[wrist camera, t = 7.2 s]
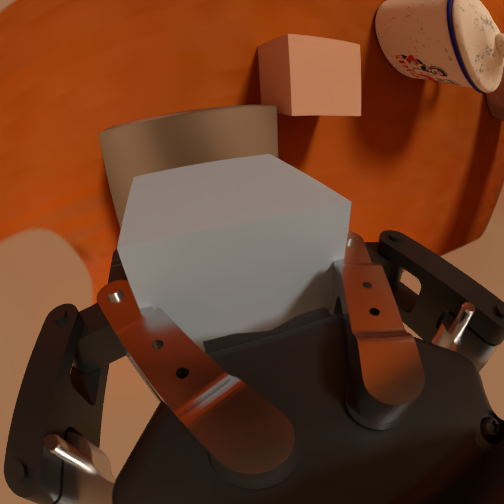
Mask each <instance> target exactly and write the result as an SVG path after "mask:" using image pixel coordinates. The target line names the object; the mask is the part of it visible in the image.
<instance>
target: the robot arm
mask: <svg viewBox="0 0 504 504" xmlns="http://www.w3.org/2000/svg"><path fill="white" fill-rule="evenodd" d="M486 98H487V104H488V108H489V110H490V113H491V114H492V116H493V117H494V118H497V119H500V120H502V121H504V67H503V73H502V78H501V82H500V84H499V86H498V87H497V89H496V90H494V91H493V92H490V93H486ZM403 269H405V270H407V271H408V272H410V273H411V274H412V275H414V276H415V277H417V278H418V279H419V281H420V283H421V291H420V294H419V295H417V294H416V293H415V292H413V291H412V290H411V289H409V288H408V287H407V286H405V285H404V284H403V283H401V282H400V279H401V276H402V272H403ZM332 276H333V291H332V297H331V302H330V307H329V308H325V307H322V308H319V309H316V310H313V311H309V312H306V313H303V314H300V315H297V316H296V317H294V318H292V319H290V320H289V321H287V322H285V323H283V324H282V325H280V326H278V327H276V328H274V329H272V330H270V331H262V332H249V333H235V334H231V335H227V336H223V337H219V338H215V339H211V340H207V341H203V345H204V348H205V351H203V350H202V349H200V348H199V347H198V346H197V345H196V344H195V343H194V342H193V341H192V340H191V339H190V338H189V337H188V336H187V335H186V334H185V333H184V332H183V331H182V330H181V329H180V328H179V327H178V326H177V325H176V324H175V323H174V322H173V321H172V320H171V318H170V317H169V316H168V315H167V314H166V313H165V312H164V311H163V310H162V309H161V308H157V309H155V310H154V309H153V308H152V307H151V306H149V307H144V308H140V309H139V307H138V304H137V302H136V299H135V297H134V294H133V292H132V289H131V287H130V284H129V281H128V279H127V276H126V273H125V270H124V268H123V265H122V262H121V259H120V256H119V253H118V250H117V249H116V250H115V251H114V253H113V257H112V263H111V268H110V274H109V280H108V284H107V285H105V286H104V287H103V288H102V289H101V290H100V291H99V292H98V294H97V303H96V304H94V305H92V306H90V307H88V308H86V309H84V310H82V311H80V312H78V310H77V308H76V307H75V306H74V305H72V304H63V305H60V306H58V307H56V308H55V309H53V310H52V311H51V312H50V313H49V314H48V316H47V317H46V320H45V322H44V324H43V326H42V329H41V331H40V334H39V336H38V338H37V341H36V344H35V346H34V349H33V351H32V354H31V357H30V360H29V363H28V365H27V368H26V371H25V374H24V378H23V381H22V384H21V388H20V391H19V394H18V398H17V402H16V405H15V409H14V413H13V417H12V422H11V427H10V431H9V437H8V442H7V448H6V455H5V462H4V475H5V479H6V482H7V484H8V486H9V488H10V489H11V490H12V491H13V492H14V493H15V494H16V495H18V496H20V497H22V498H25V499H27V500H30V501H33V502H35V503H37V504H504V420H501V419H500V418H499V417H497V415H496V414H495V413H494V412H493V410H492V408H491V406H490V404H489V402H488V399H487V397H486V394H485V391H484V388H483V384H482V380H481V377H480V375H479V372H480V370H481V369H482V368H483V367H484V365H485V364H486V363H487V362H488V360H489V359H490V358H491V357H492V355H493V354H494V353H495V351H496V350H497V348H498V347H499V346H500V344H501V343H502V341H503V340H504V302H503V301H501V300H500V299H499V298H497V297H496V296H495V295H494V294H492V293H491V292H489V291H488V290H487V289H485V288H484V287H483V286H482V285H480V284H479V283H477V282H476V281H475V280H473V279H472V278H470V277H469V276H468V275H466V274H465V273H463V272H462V271H460V270H459V269H458V268H456V267H455V266H453V265H452V264H450V263H449V262H447V261H446V260H444V259H443V258H441V257H440V256H438V255H437V254H435V253H433V252H432V251H430V250H429V249H427V248H426V247H424V246H422V245H421V244H419V243H418V242H416V241H414V240H413V239H411V238H409V237H408V236H406V235H404V234H403V233H400V232H397V231H392V230H387V231H383V232H382V233H381V234H380V237H379V242H364V241H363V239H362V237H361V236H359V235H358V234H356V233H353V232H349V231H348V235H347V242H346V249H345V256H344V259H340V260H336V261H334V263H333V270H332ZM403 322H404V323H405V324H406V325H407V326H408V327H409V328H411V329H412V330H413V331H414V332H415V333H416V334H418V335H419V336H420V337H421V338H422V339H423V340H421V339H419V338H416V337H413V336H412V335H411V334H410V333H407V332H406V330H405V328H404V325H403ZM126 355H127V357H128V358H129V360H130V361H131V363H132V364H133V366H134V367H135V369H136V370H137V371H138V373H139V374H140V376H141V377H142V379H143V380H144V381H145V383H146V384H147V385H148V387H149V388H150V390H151V391H152V393H153V394H154V395H155V397H156V398H157V399H158V401H159V402H160V404H159V405H158V407H157V409H156V411H155V412H154V414H153V416H152V418H151V419H150V421H149V423H148V424H147V426H146V428H145V430H144V431H143V433H142V435H141V437H140V438H139V440H138V442H137V443H136V445H135V447H134V449H133V451H132V452H131V454H130V456H129V457H128V459H127V461H126V463H125V465H124V466H123V468H122V470H121V471H120V473H119V475H118V477H117V478H116V480H115V478H114V476H113V474H112V472H111V465H110V461H109V458H108V457H107V455H106V454H105V453H104V452H103V451H102V450H101V449H100V448H99V445H100V431H101V420H102V411H103V403H104V395H105V388H106V381H107V375H108V369H109V363H111V362H113V361H115V360H117V359H119V358H122V357H123V356H126ZM72 364H73V366H72ZM71 368H72V370H71ZM70 372H71V374H70Z"/></svg>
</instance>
